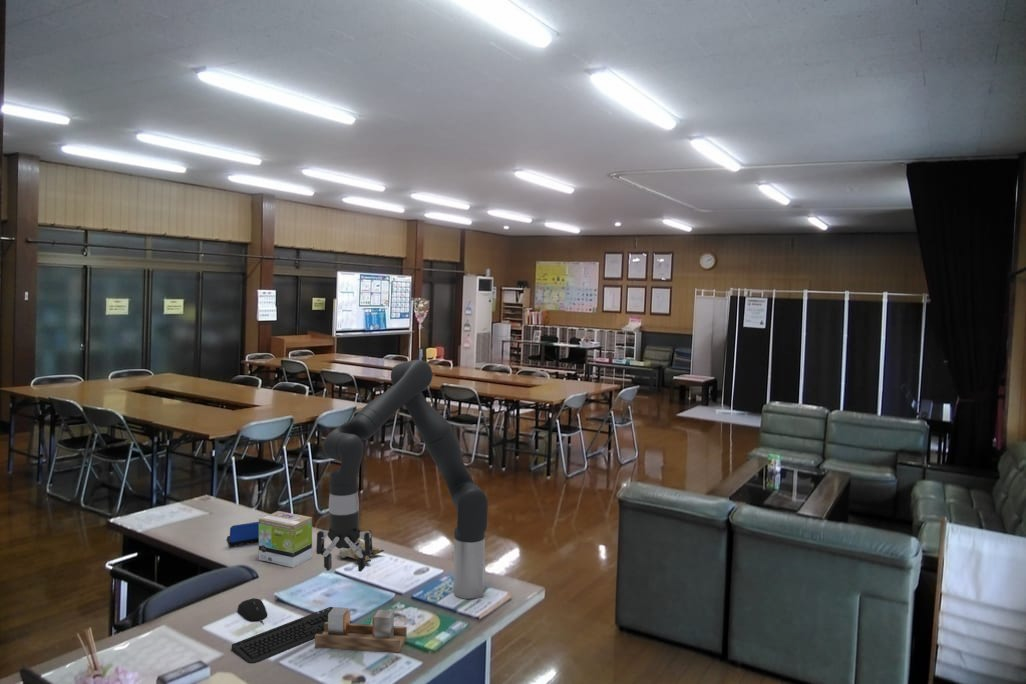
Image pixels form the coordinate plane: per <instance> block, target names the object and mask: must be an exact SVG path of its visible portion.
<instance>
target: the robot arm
mask: <svg viewBox="0 0 1026 684" xmlns="http://www.w3.org/2000/svg"><path fill="white" fill-rule="evenodd" d="M390 380H391V384H392V386H391V387H390V388H389V389H387V390H386V391H384V392H382V393H381V394H379V395H378V396H376V397H375V398H373V399H372V400H370V402H368V403H367V404H366V405H365V406H364V407H363V408H362V409H361V410H360V411H359V412H357V414H356V415H354V417H352V418H351V419H350V420H347V421H345V422H344V423H343V424H341V425H338V426H337V427H335V429H333V430H332V431H330V432H329V433H328V434H327V435H326V437H325V439H324V441H323V443H322V451H323V454H324V455H325V456H326V457H327V458H329V459H331V460H337V461H340V462H341V464H340V467H339V468H335V469H333V470H332V471H330V473H329V497H328V499H329V500H328V515H329V516H328V523H329V524H328V526H329V527H328V529H329V530H325V529H324V528H321V529H320V530H318V532H317V533H316V548H315V549H316V550H315V553H316V554H317V555H322V556H323V567H324V569H325V570H326V571H330V570H331V569H332V567H333V566H332V563H333V562H332V557H333V556H332V551H333V550H334V548H335V547H336V548H337V549H339V548H346V549H349V548H352V550H353V551H354V552H356V554H357V555H358V556H359V558H358V560H357V566H358V567H357V569H358V570H357V571H358V572H362V571H363V570H364V569H365V567H366V564H367V563H366V562H365V556H369V557H370V554H371V552H372V551H373V549H372V546H373V539H372V538H373V537H372V530H368V529H367V530H366V531H361V530H360V509H359V508H360V504H359V503H360V499H359V493H358V476H359V473H360V468H361V463H362V459H363V457H364V443H363V441H362V440H364V441H365V440H368V439H370V438H371V437H372V436H374V435H375V434H376V432H377V431H379V430H380V428H381V427H382V426H383V425H384V424H385V423H386V422H387V421H388V420H389V419H390V418H391V417H392V416H393V415H394V414H395V413H397V411H398V410H400V409H401V408H402V407H405V408H406V410H407V412H408V413H409V415H410V417H411V419H412V421H413V423H414V425H415V427H416V428H417V431H418V432H419V434H420V437H421V440H422V441H423V443H424V444H423V445H425V447H426V450H427V452H428V454H429V455H430V457H431V459H432V461H433V462H434V464H435V466H436V467H437V468H438V470H439V471H440V473H441V475H442V477H443V479H444V482H445V483H446V487H447V489H448V492H449V495H450V498H451V501H452V504H453V506H454V508H455V509H457V510H456V511H457V522H456V524H457V525H456V527H455V528H454V535H453V536H454V539H453V542H454V543H453V545H454V547H453V548H454V550H453V555H454V556H453V595H454V596H456V597H457V596H458V598H460V599H465V600H466V599H469V600H473V599H476V598H483V596H484V594H485V590H486V559H485V549H486V548H485V539H486V538H485V537H486V534H485V533H486V532H487V531H486V530H487V526H488V508H489V507H488V498H487V495H486V493H485V492H484V491H483V490H482V489H481V487H479V486H478V485H477V483H475V481H474V479H473V478H472V477H471V475H470V473H469V471H468V469H467V468H466V466H465V463H464V459H463V455H462V451H461V447H460V444H459V441H458V439H457V436H456V434H455V432H454V430H453V427H452V426H451V424H450V423H449V421H448V420H447V419H446V418H445V417H444V416H443V415H442V414H440V413H439V412H438V411H437V410H436V409H435V408H434V407H433V406H432V405H431V403H429V402H428V401H427V399H426V398H425V396H424V394H423V391H425V390H426V389H427V388H428V387H429V386H430V384H431V383H432V381H433V370H432V367H431V365H430V364H429V363H428V362H427V361H424V360H423V359H414V360H413V359H412V360H407V361H404V362H401V363H398V364H396V365H394V366H393V368H392V369H391V372H390ZM327 537H328V538H329V540H330V541H331V542H330V544H329V545H328V546H327V548H325V539H326V538H327ZM359 537H360V538H362V539H363V540H364V541H365V550H364V548H363V547H362V545H361V543H360V542H359V540H358V539H359Z"/></svg>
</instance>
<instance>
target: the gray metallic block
mask: <svg viewBox="0 0 1026 684" xmlns="http://www.w3.org/2000/svg"><path fill="white" fill-rule="evenodd" d="M333 607H334V608H333V609H332V610H331V611H330V612H329V614H328V635H343V636H347V635H348V634H349V630H350V620H351V611H350V610H349V607H339V606H338V607H337V606H333Z"/></svg>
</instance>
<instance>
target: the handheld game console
mask: <svg viewBox="0 0 1026 684" xmlns="http://www.w3.org/2000/svg"><path fill="white" fill-rule="evenodd" d="M226 540H227V543H228V546H229V547H231V548H232V547H236V546H237V547H238V546H245V545H249V544H254V543H255V544H256V543H259V521H254V522H249V523H247V522H246V523H241V524H235V525H231V526H230V527H229V535H227V537H226Z"/></svg>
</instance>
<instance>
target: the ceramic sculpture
mask: <svg viewBox="0 0 1026 684" xmlns="http://www.w3.org/2000/svg"><path fill="white" fill-rule="evenodd" d="M358 540H359V542H360V543H361V545H362V547H363V548H364V550H365V541H364V540H363V539H362V537H359V539H358ZM338 549H339V555H340V556H339V557H341V558H342V559H346V558H348V557H349V558H352V559H354V560H356V561H358V558H359V556H358V555H357V554H356V552H354V551H353V550H352V548H349V549H346V548H338ZM372 549H373V551H372V552H371V554H370V555H371V556H375V555H378V554H380V553H381V554H382V553H383V552H385V549H379V548H377V547H376V546H374V545H372ZM370 555H369V556H365V563H369V562H371V561H372V559H370Z"/></svg>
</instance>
